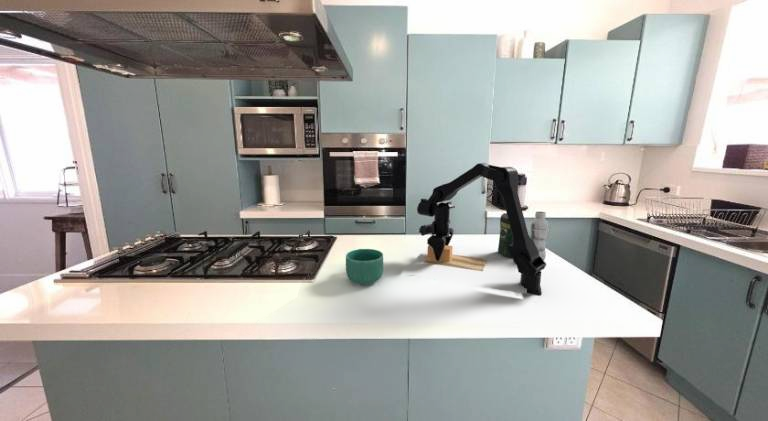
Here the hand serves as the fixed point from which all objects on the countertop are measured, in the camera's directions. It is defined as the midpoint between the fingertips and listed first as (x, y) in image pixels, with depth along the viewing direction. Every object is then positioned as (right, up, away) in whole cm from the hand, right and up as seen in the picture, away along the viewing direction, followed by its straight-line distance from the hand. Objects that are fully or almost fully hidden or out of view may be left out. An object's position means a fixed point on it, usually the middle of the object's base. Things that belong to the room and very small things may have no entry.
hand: (440, 256), depth 121 cm
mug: (-29, -5, -16) cm, 34 cm away
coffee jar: (+30, -1, +6) cm, 30 cm away
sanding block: (0, -1, 0) cm, 1 cm away
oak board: (+6, -3, -2) cm, 6 cm away
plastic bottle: (+39, -2, +2) cm, 39 cm away
